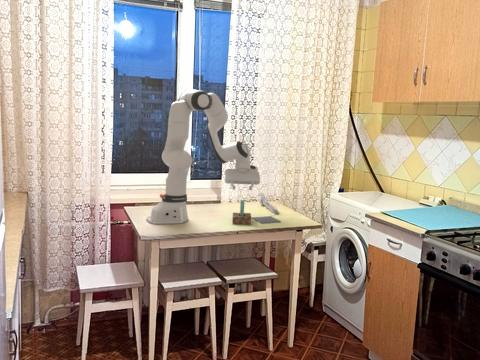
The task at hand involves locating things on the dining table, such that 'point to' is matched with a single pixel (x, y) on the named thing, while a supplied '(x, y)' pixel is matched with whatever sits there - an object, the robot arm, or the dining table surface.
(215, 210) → the dining table surface
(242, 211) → the scraper tool
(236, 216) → the slot holder
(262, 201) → the wrench
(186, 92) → the robot arm
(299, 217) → the dining table surface
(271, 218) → the rubber mat
